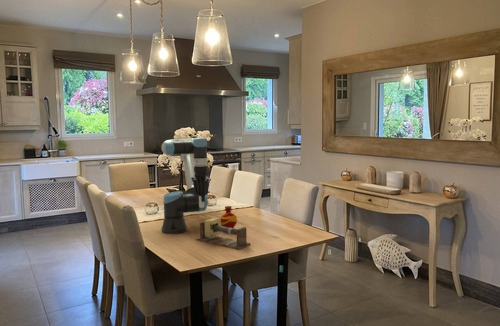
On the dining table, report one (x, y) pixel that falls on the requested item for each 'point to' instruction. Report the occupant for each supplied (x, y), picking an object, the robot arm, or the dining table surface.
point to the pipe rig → (225, 242)
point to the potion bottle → (228, 218)
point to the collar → (209, 227)
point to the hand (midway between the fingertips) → (201, 207)
